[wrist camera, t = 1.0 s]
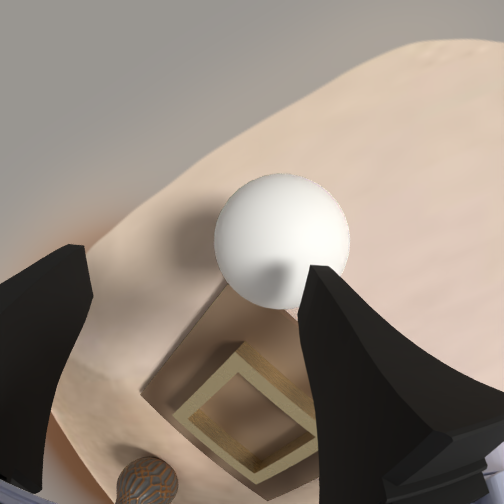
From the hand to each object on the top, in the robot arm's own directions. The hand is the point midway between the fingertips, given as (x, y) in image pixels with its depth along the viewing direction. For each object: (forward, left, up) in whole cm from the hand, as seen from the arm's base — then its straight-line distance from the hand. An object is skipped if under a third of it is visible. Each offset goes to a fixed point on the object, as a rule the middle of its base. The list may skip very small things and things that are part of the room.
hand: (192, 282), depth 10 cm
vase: (-7, +33, -14) cm, 36 cm away
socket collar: (-8, +14, -14) cm, 21 cm away
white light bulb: (-1, -1, -14) cm, 14 cm away
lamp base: (-8, +14, -14) cm, 21 cm away
